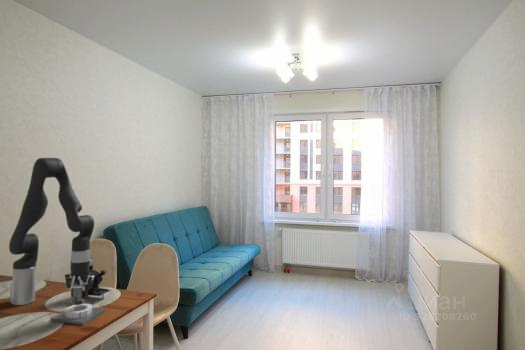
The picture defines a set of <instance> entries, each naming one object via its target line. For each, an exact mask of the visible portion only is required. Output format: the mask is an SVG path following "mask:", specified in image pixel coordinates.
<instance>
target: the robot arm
mask: <svg viewBox="0 0 525 350" xmlns="http://www.w3.org/2000/svg"><path fill="white" fill-rule="evenodd" d="M49 178H55V179H56V180H57V183H58V184H59V185H58V186H59V190H58V195H57V197H58V201H59V204H60V206H61V207H62V209H63V211H64V213H65V219H66V224H67V225H66V226H67V228H68V229H69V230H70V231H71V232H73V233H78V235H77V236H75V237H73V238H72V241H71V253H70V272H69V273H66V274H64V278H65V283H66V288H69V289H70V296H71V298H72V299H73V284H74V283H80V285H81V286H82V289H83V291H82V299H85V300H86V298H87V297H88V296H89V295H88V289H90V288H92V286H93V283H94V279H95V276H94V275H93V276H91V275H89V272H88V271H89V269H90V257H91V253H90V250H91V249H90V244H91V243H90V242H91V241H90V240H91V238H92V234H93V232H94V229H95V228H94V227H95V219H94V218H93V217H92V215H90V214H85V215H79V213H80V212H81V211H82V210H83V206H82V203H81V202H80V200H79V199H78V197H77V195H76V193H75V191H74V189H73V186H72V183H71V180H70V178H69V175H68V171H67V168H66V166H65V164H64V162H63V161H62V159H60V158H58V157H40V158H37V159H36V160H35V161H34V164H33V166H32V173H31V178H30V183H29V187H28V190H27V194H26V197H25V199H24V202H23V204H22V208H21V212H20V215H19V218H18V221H17V224H16V227H15V229H14V231H13V233H12V234H11V235H12V236H11V237H10V240H9V244H8V248H9V249H8V250H9V252H10V253H11V255H23V256H21V257H20V258H19V259H17V260H15V261H14V262H13V263H12V282H11V283H10V290H9V291H10V295H9V297H10V298H9V304H11V305H13V306H23V305H27V304H31V303H33V302H35V300H36V280H37V277H36V276H37V261H38V255H39V245H40V242H39V237H38V235H37V234H36V233H28V232H30V230H31V229H32V228H33V227H34V225H36V224H37V223H38V222H39V221H40V220H41V219H42V218H43V217H44V216H45V214H46V211H47V207H48V205H49V200H48V196H47V194H46V192H45V190H44V184H45V181H46V179H49ZM87 278H88V279H87ZM83 282H85V283H83Z"/></svg>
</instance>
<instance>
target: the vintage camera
mask: <svg viewBox="0 0 525 350" xmlns="http://www.w3.org/2000/svg"><path fill="white" fill-rule="evenodd" d="M88 272H89V275H91V276H93V275H94V276H95V279H94V283H93V286H92V288H90V289H88V296H95V297H101V298H102V300H104V299H105V298H104V295H105V294H107V293H108V292H111V289H109V288H103V287H101V288H100V287H99V285H100V284H101V283H102V281H103V280H104V279H103V276H105V275H106V273H107V271H106V270H104V269H102V270H100V272H99V271H97V270H94V259H93V258H92V257H91V256H90V269H89V271H88ZM87 279H88V278H87Z"/></svg>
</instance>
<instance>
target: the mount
mask: <svg viewBox="0 0 525 350" xmlns="http://www.w3.org/2000/svg"><path fill="white" fill-rule="evenodd" d="M105 312H106V309H105V308H98V307H93V305H92V304H91V303H83V304H81V305H73V304H72V305H71V306H68V307H66V308H65V310H64V311H61V312H60V313H58V314H55V315H54V316H52V317H50V321H51V322H55V323H56V322H58V323H63V324H73V325H79V326H83V325H85V324H87V323H89V322H90V321H92V320H93V319H96V318H97V317H99V316H101V315H102V314H103V313H105Z"/></svg>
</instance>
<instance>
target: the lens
mask: <svg viewBox="0 0 525 350" xmlns="http://www.w3.org/2000/svg"><path fill="white" fill-rule="evenodd" d="M83 283H85V282H83ZM82 291H83V289H82V286H81V285H80V283H74V284H73V298H72V305H81V304H86V298H85V299H82Z"/></svg>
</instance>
